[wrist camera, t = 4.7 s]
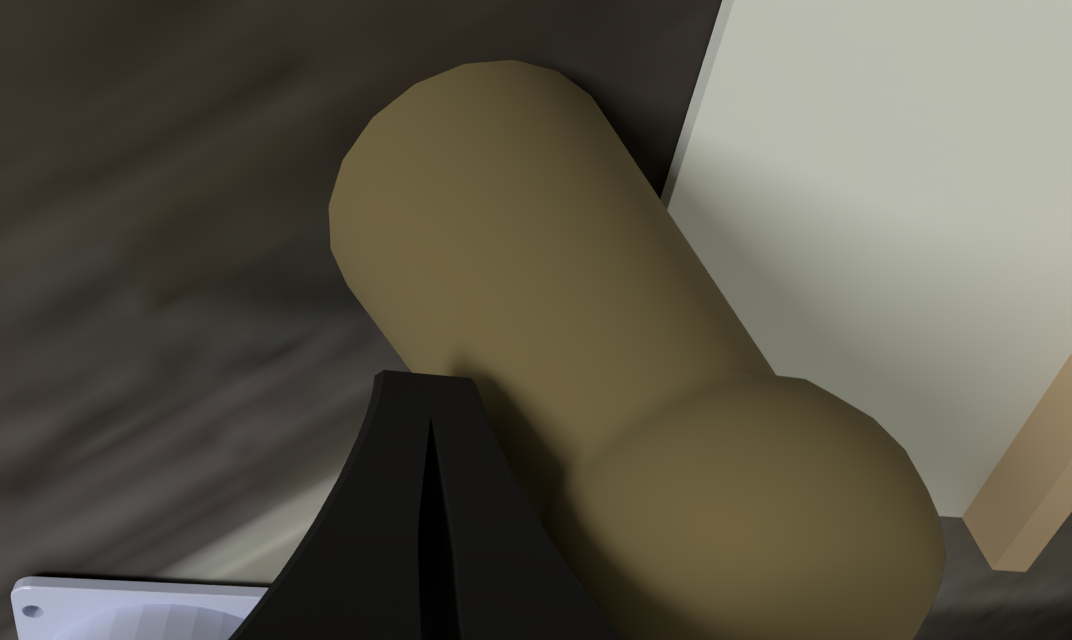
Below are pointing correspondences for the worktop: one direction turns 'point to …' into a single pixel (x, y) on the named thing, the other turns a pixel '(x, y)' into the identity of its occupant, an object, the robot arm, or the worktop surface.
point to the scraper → (903, 230)
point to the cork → (624, 373)
